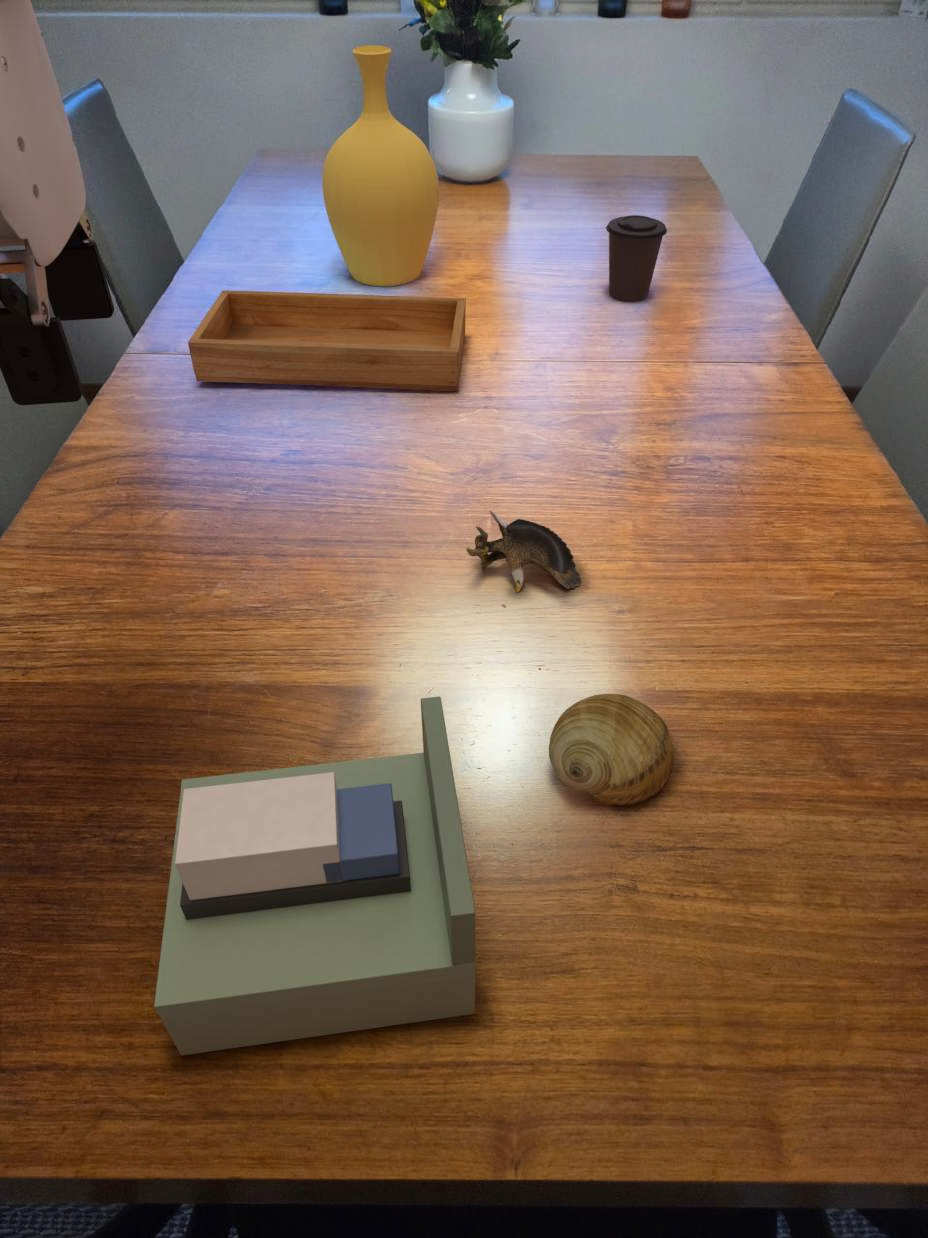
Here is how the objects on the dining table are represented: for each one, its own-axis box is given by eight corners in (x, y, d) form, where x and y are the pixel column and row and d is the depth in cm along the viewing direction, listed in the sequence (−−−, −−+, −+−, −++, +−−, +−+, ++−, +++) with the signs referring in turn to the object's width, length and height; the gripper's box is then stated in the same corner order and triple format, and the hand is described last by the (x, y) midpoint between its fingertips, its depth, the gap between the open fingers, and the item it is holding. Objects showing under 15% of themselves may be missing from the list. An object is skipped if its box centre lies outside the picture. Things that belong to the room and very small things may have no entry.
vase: (312, 286, 125) (284, 57, 106) (357, 247, 136) (339, 34, 117) (418, 300, 121) (408, 65, 102) (455, 259, 132) (453, 40, 114)
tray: (465, 337, 112) (465, 293, 109) (458, 394, 101) (458, 348, 97) (230, 332, 114) (221, 289, 110) (197, 388, 103) (186, 341, 99)
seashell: (622, 763, 67) (574, 674, 65) (705, 747, 62) (656, 651, 61) (570, 843, 59) (515, 745, 58) (661, 831, 55) (603, 724, 53)
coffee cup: (597, 303, 120) (604, 228, 113) (601, 281, 126) (608, 208, 119) (657, 307, 119) (668, 231, 112) (658, 285, 125) (668, 211, 118)
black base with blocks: (185, 920, 46) (163, 868, 43) (194, 840, 50) (174, 786, 47) (411, 891, 48) (406, 839, 44) (403, 815, 51) (398, 761, 48)
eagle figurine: (468, 598, 73) (575, 595, 71) (463, 512, 72) (572, 506, 70) (488, 587, 80) (587, 584, 78) (484, 509, 79) (583, 504, 77)
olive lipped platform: (180, 1056, 47) (126, 958, 40) (202, 835, 57) (162, 725, 50) (474, 1014, 49) (475, 913, 41) (444, 806, 59) (440, 695, 51)
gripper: (-92, -70, 41) (32, 295, 52) (-271, -22, 28) (-54, 447, 39) (75, -73, 41) (161, 287, 53) (-24, -27, 29) (118, 434, 40)
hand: (69, 355), depth 46 cm, fingers open, 9 cm apart
